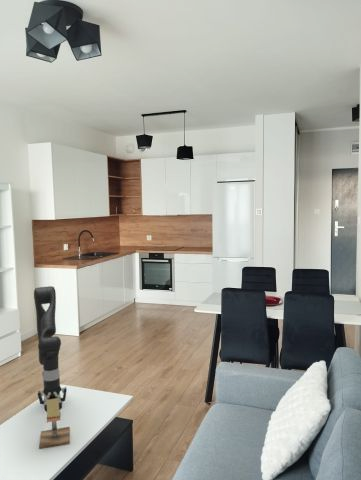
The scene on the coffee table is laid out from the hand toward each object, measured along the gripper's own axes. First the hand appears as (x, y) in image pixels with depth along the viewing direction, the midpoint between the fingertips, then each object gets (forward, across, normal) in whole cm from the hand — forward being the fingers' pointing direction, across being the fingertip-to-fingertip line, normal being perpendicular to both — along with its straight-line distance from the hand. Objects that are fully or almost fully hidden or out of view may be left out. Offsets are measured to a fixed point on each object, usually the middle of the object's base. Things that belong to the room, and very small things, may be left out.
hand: (53, 410), depth 202 cm
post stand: (+15, 0, 0) cm, 15 cm away
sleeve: (+2, 0, 0) cm, 2 cm away
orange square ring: (+4, 0, 0) cm, 4 cm away
